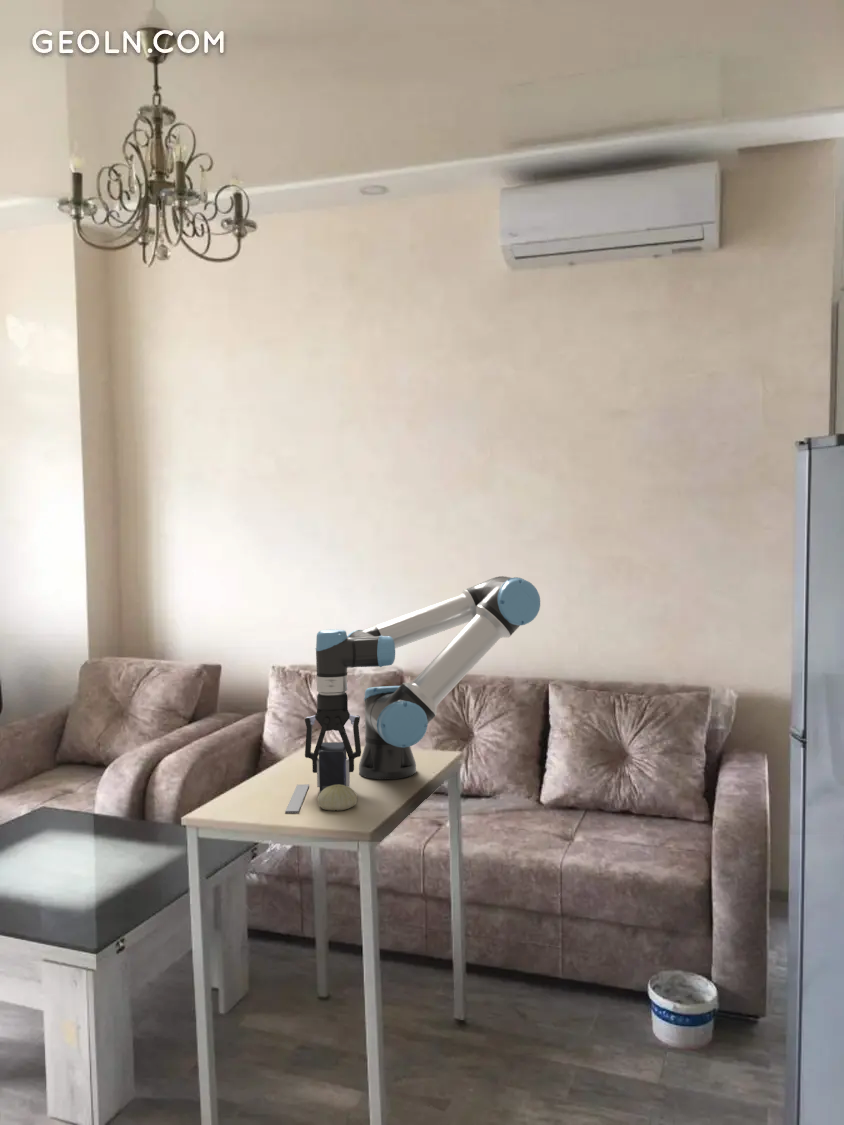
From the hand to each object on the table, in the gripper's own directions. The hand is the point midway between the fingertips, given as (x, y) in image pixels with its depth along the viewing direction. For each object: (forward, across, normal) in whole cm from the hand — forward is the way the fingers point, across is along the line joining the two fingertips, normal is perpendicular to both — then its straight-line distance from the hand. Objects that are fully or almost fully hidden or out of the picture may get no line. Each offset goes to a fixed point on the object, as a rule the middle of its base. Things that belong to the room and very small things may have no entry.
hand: (333, 785), depth 237 cm
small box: (+1, 0, 0) cm, 1 cm away
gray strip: (+1, -8, -7) cm, 11 cm away
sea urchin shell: (+2, +2, -14) cm, 14 cm away
